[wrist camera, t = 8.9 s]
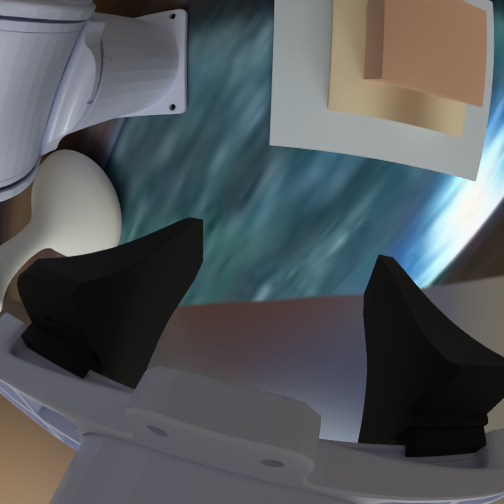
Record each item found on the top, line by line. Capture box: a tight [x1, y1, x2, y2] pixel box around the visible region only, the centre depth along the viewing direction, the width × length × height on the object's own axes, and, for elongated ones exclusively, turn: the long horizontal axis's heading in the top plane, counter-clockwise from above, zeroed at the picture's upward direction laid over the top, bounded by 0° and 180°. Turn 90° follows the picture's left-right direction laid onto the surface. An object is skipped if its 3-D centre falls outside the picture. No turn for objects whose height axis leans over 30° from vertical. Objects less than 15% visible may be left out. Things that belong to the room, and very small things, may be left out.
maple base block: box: [327, 0, 467, 138], centre depth 13 cm, size 8×8×3 cm
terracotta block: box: [363, 0, 487, 108], centre depth 9 cm, size 4×4×5 cm
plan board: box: [270, 0, 494, 181], centre depth 14 cm, size 15×14×1 cm
